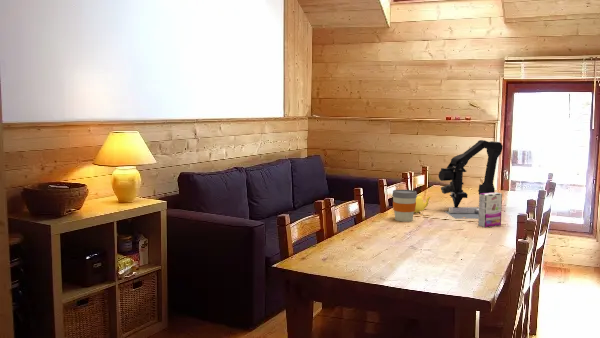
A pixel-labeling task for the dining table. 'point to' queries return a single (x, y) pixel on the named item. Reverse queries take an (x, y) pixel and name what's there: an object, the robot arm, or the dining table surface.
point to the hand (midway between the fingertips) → (455, 208)
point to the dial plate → (464, 215)
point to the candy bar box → (490, 209)
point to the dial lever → (463, 210)
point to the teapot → (421, 204)
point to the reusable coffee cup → (404, 204)
